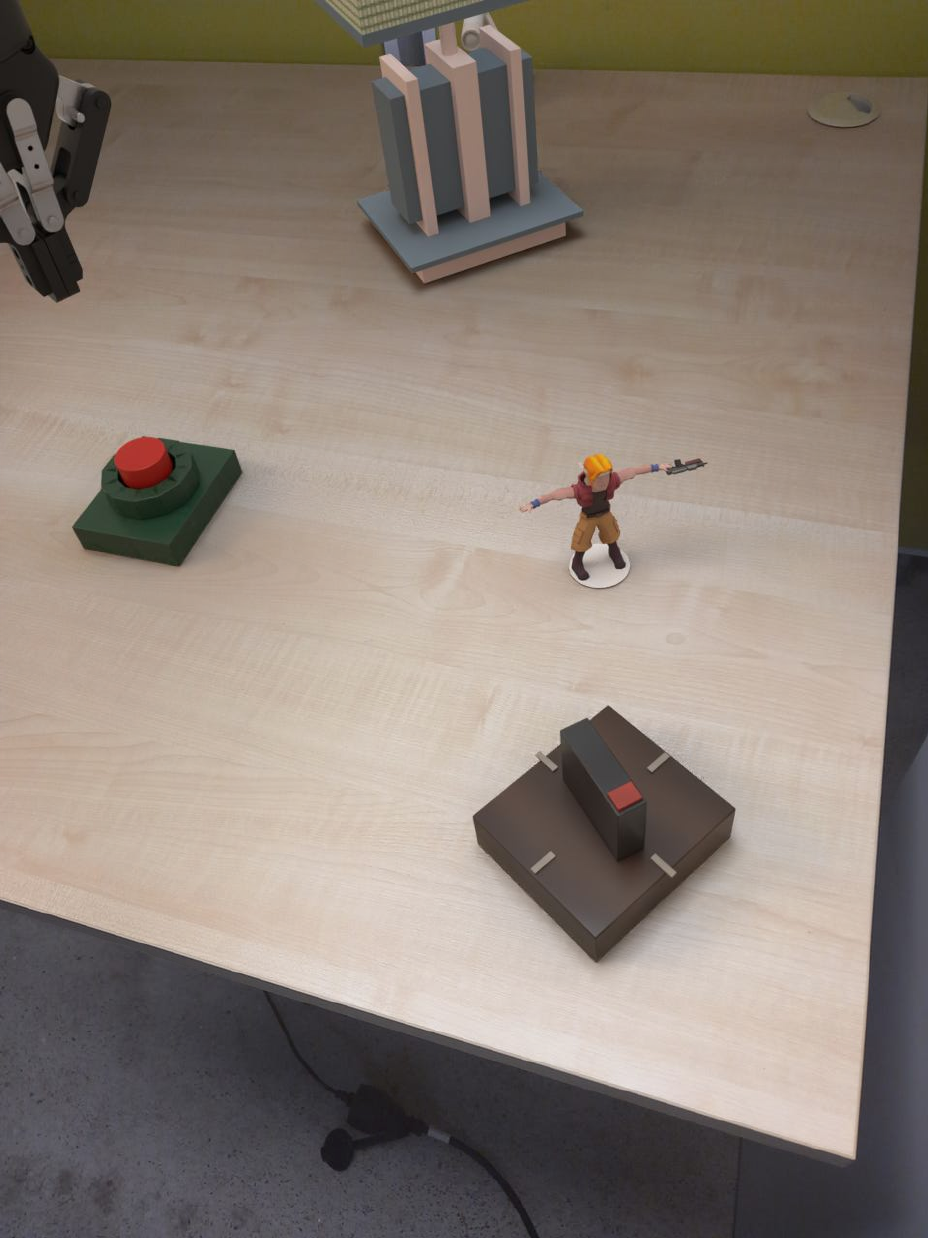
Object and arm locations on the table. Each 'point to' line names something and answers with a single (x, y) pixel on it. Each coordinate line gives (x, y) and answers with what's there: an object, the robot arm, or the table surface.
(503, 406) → the table surface
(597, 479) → the action figure
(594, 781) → the knob
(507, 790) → the panel
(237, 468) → the button box
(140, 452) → the button
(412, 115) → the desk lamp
